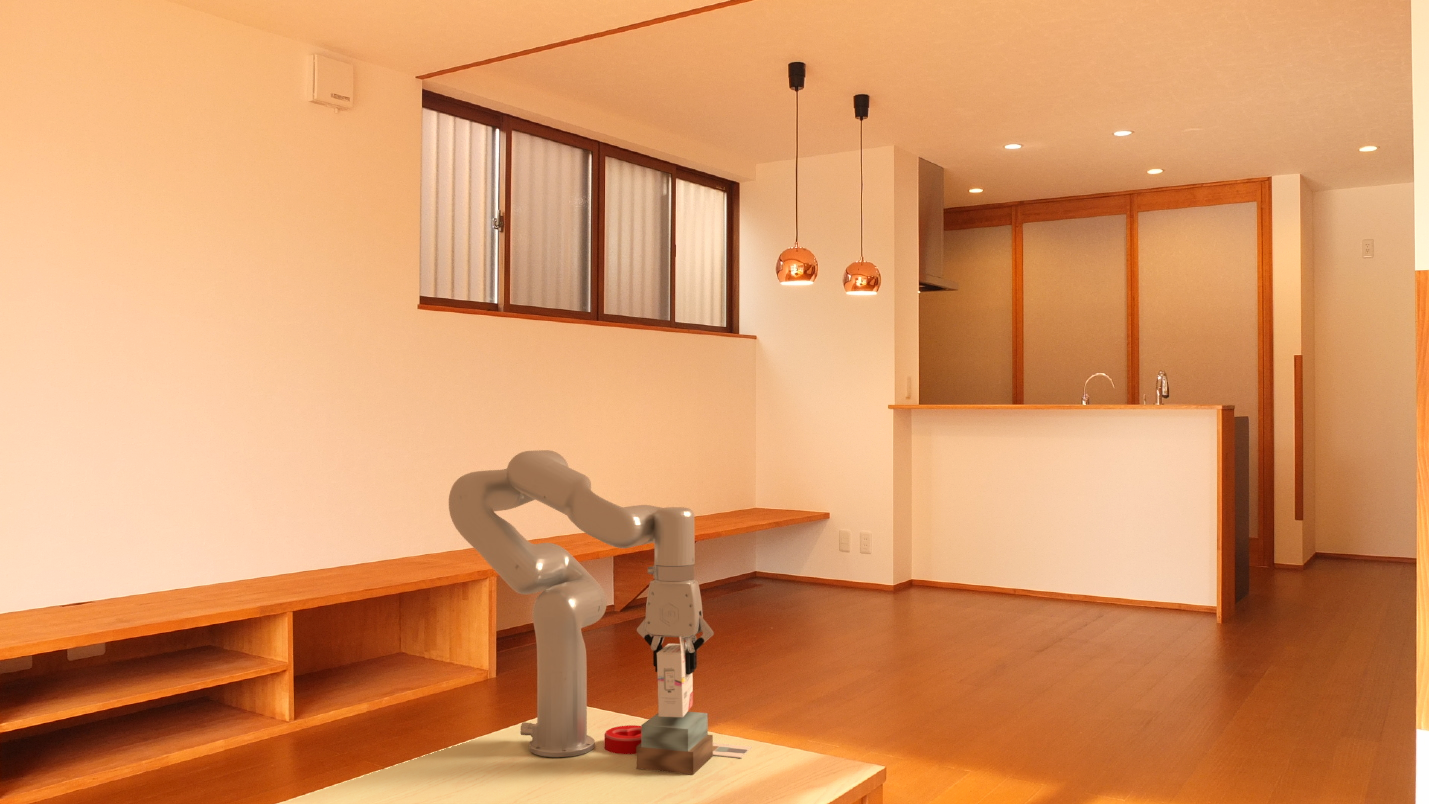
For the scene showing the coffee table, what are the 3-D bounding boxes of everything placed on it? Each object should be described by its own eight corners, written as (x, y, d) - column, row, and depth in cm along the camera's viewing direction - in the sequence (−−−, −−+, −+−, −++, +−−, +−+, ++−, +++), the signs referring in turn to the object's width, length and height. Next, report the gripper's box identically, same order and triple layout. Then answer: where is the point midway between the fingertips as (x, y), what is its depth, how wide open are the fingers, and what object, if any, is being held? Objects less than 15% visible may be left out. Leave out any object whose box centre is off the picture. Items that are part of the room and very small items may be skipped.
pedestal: (636, 768, 189) (636, 724, 189) (658, 751, 199) (658, 709, 199) (693, 774, 185) (693, 729, 186) (712, 756, 196) (712, 713, 196)
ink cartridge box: (668, 705, 197) (667, 627, 198) (693, 706, 196) (692, 627, 197) (656, 717, 189) (655, 635, 189) (683, 718, 188) (682, 636, 188)
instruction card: (691, 753, 198) (691, 752, 198) (703, 742, 204) (703, 741, 204) (741, 758, 194) (741, 756, 194) (751, 747, 201) (751, 746, 201)
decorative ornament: (623, 759, 195) (623, 742, 195) (594, 747, 203) (594, 731, 203) (663, 748, 202) (663, 732, 202) (634, 737, 209) (634, 721, 209)
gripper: (624, 574, 192) (624, 673, 192) (711, 578, 187) (712, 679, 186) (639, 569, 199) (640, 664, 199) (724, 573, 194) (724, 670, 194)
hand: (675, 670), depth 193 cm, fingers closed on ink cartridge box, 5 cm apart
